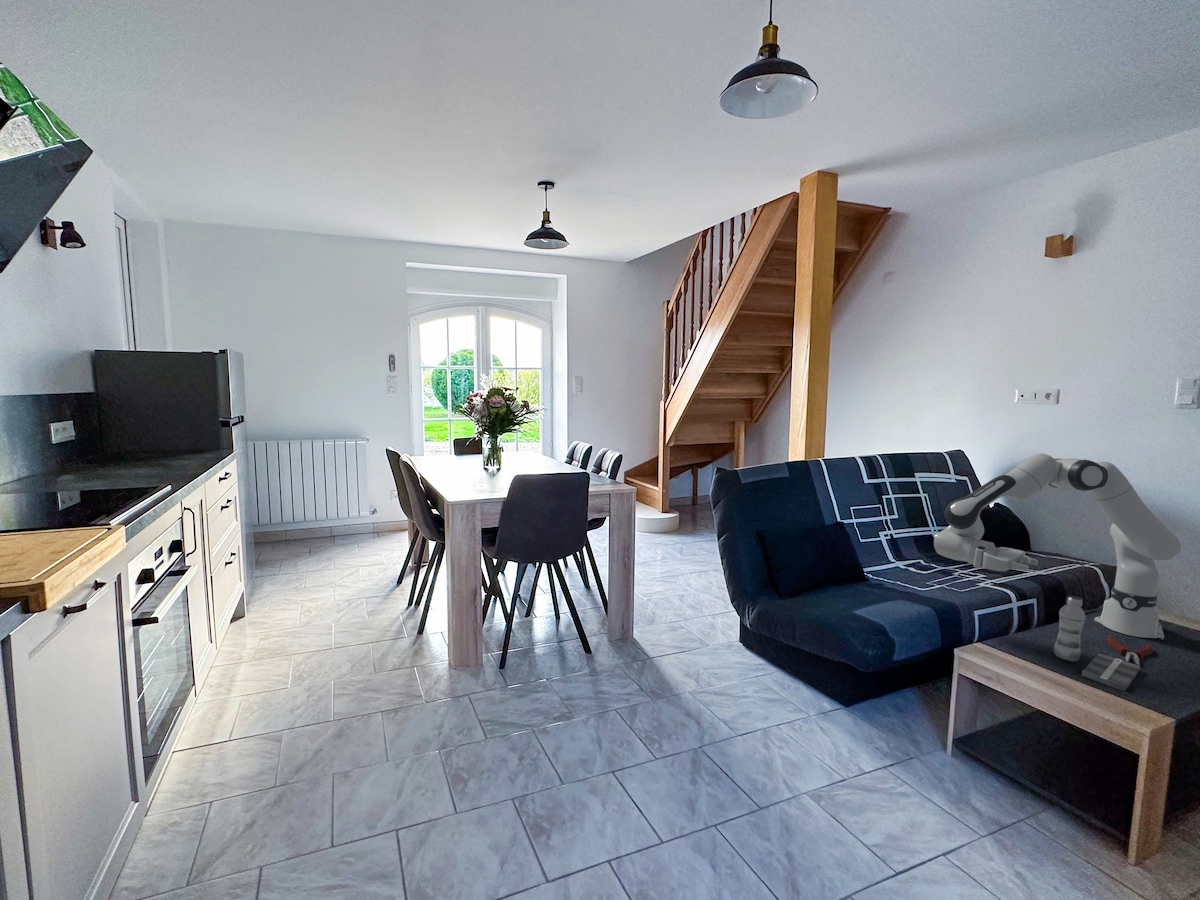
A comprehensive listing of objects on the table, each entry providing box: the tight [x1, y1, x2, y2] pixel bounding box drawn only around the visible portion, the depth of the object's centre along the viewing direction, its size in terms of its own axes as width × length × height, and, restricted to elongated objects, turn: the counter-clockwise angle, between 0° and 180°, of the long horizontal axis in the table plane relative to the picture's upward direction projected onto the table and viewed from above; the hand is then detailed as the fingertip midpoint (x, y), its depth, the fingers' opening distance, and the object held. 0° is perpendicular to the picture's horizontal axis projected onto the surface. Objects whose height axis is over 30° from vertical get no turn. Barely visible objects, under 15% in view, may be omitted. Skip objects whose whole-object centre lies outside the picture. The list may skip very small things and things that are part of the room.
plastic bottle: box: [1053, 595, 1087, 662], centre depth 187 cm, size 6×7×20 cm
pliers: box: [1106, 634, 1154, 666], centre depth 193 cm, size 12×20×3 cm, turn 142°
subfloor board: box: [1080, 653, 1141, 692], centre depth 180 cm, size 20×10×2 cm, turn 129°
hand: (1032, 565), depth 194 cm, fingers open, 8 cm apart
